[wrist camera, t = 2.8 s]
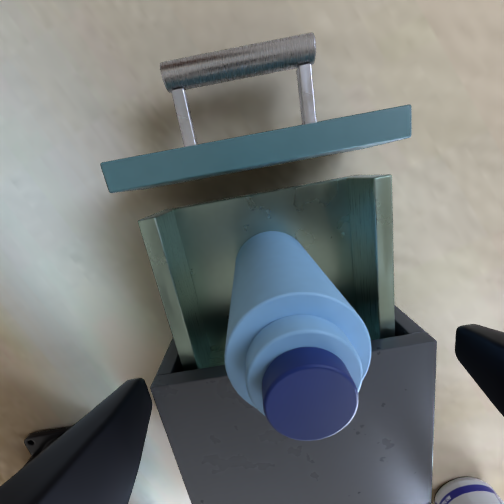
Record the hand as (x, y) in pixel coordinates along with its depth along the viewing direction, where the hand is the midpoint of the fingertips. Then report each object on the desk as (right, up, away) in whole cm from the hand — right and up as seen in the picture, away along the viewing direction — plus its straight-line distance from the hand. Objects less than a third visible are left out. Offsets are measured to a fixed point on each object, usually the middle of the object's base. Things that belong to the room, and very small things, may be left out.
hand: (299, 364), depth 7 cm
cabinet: (+2, -7, +12) cm, 14 cm away
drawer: (-1, +5, +8) cm, 9 cm away
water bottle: (0, +2, +8) cm, 8 cm away
